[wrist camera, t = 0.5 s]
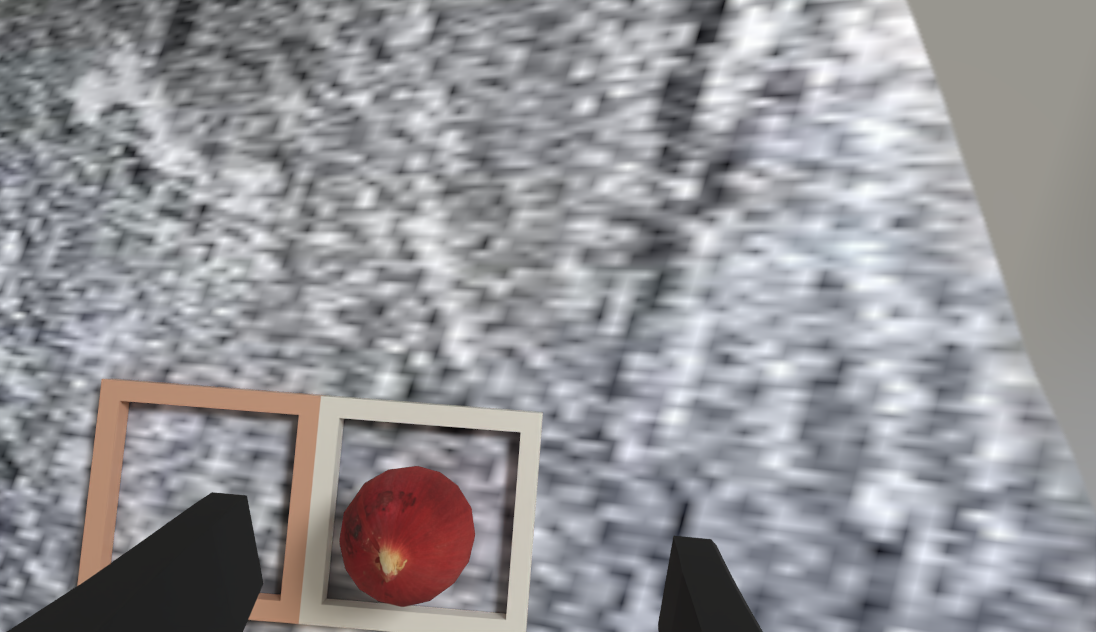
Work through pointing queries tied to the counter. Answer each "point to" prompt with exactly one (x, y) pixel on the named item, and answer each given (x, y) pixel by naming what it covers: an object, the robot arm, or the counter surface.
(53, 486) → the counter surface
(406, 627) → the cream frame
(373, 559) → the onion
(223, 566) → the robot arm
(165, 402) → the terracotta frame
